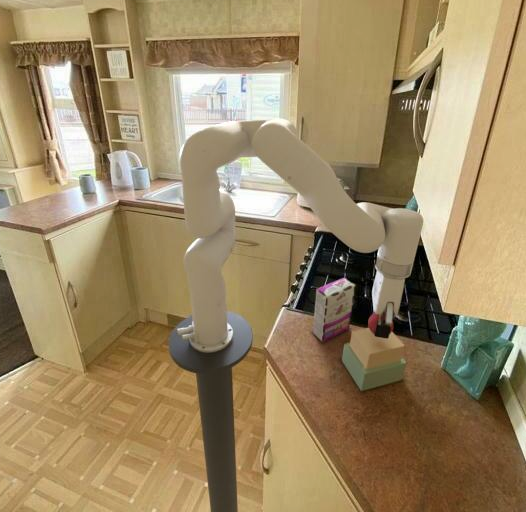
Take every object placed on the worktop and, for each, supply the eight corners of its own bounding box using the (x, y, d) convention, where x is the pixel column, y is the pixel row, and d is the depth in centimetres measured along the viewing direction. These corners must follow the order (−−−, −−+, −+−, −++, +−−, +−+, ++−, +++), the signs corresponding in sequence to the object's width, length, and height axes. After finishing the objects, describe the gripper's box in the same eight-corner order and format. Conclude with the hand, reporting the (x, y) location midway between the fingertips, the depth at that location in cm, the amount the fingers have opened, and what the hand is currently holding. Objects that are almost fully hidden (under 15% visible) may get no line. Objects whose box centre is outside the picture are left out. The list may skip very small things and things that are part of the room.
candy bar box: (338, 319, 101) (344, 276, 94) (349, 329, 97) (356, 284, 90) (311, 332, 95) (315, 288, 88) (322, 343, 91) (327, 297, 84)
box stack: (361, 391, 77) (368, 358, 72) (341, 360, 86) (346, 329, 81) (402, 379, 80) (411, 347, 76) (379, 351, 89) (386, 320, 84)
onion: (362, 336, 78) (367, 310, 74) (371, 324, 82) (377, 299, 78) (384, 348, 74) (391, 321, 71) (393, 335, 78) (400, 309, 75)
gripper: (373, 244, 78) (362, 303, 85) (379, 282, 62) (365, 350, 70) (405, 248, 76) (391, 307, 84) (419, 288, 61) (400, 356, 69)
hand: (380, 326), depth 77 cm, fingers closed on onion, 5 cm apart
